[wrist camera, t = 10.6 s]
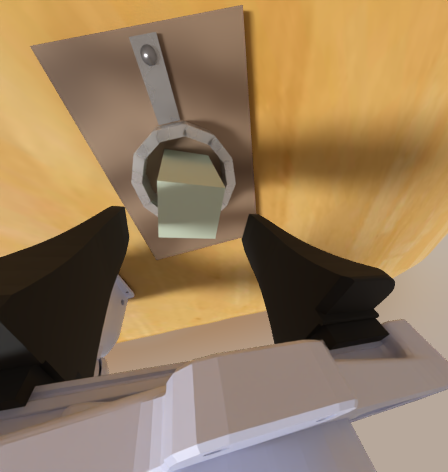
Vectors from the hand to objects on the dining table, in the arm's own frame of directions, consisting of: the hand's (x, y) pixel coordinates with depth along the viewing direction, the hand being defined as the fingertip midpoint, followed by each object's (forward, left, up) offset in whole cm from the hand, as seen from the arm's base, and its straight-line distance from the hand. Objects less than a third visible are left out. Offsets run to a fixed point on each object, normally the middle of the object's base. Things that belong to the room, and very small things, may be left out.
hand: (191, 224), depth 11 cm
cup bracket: (0, 0, -10) cm, 10 cm away
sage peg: (0, 0, -9) cm, 9 cm away
